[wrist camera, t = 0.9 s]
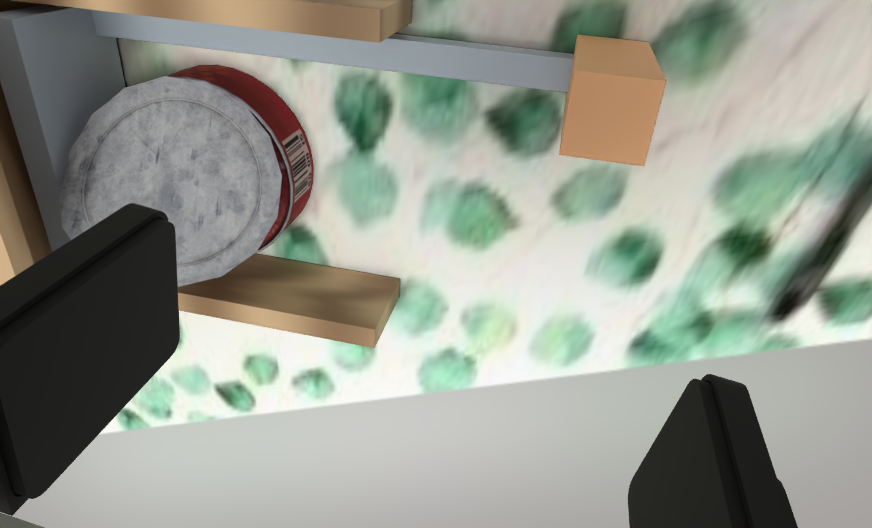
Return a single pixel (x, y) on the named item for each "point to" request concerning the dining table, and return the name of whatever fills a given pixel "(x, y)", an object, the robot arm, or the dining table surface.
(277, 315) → the shelf lane
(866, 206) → the dining table surface
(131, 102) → the canned food
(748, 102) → the dining table surface
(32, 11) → the pull rod
